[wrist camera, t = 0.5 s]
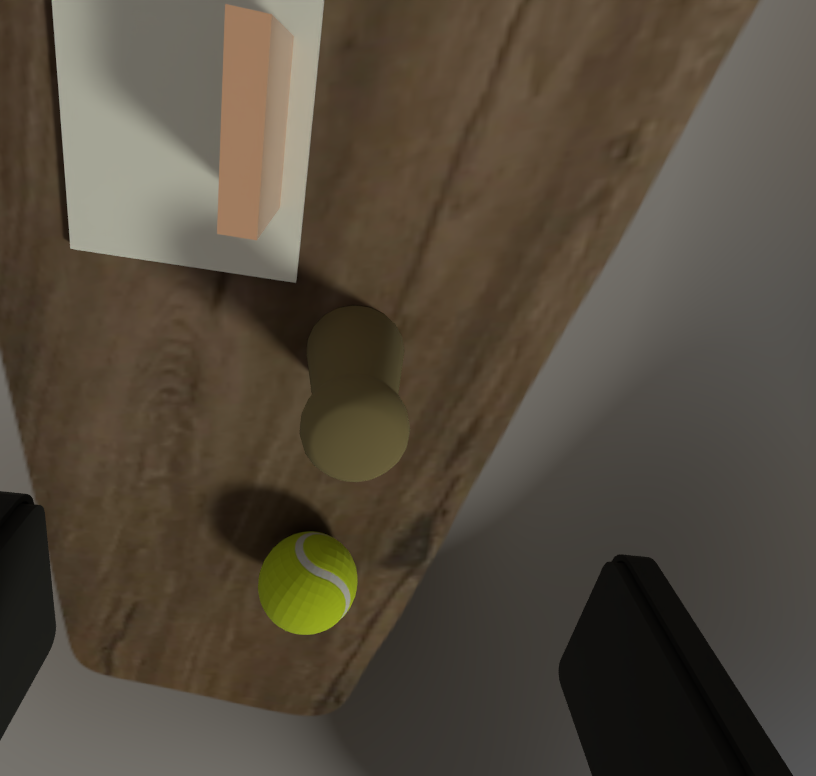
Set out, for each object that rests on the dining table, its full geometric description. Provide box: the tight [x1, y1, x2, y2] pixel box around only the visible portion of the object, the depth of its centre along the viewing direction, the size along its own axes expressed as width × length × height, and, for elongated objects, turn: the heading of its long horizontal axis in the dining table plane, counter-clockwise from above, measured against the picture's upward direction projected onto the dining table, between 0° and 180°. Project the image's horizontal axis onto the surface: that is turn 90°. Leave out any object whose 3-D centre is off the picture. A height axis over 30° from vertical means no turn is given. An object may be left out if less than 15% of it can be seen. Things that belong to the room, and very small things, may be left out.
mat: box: [52, 0, 324, 283], centre depth 29 cm, size 16×12×1 cm
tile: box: [217, 4, 294, 240], centre depth 25 cm, size 8×2×8 cm, turn 170°
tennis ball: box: [258, 531, 357, 635], centre depth 39 cm, size 7×7×7 cm
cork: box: [300, 305, 410, 482], centre depth 31 cm, size 6×6×11 cm
